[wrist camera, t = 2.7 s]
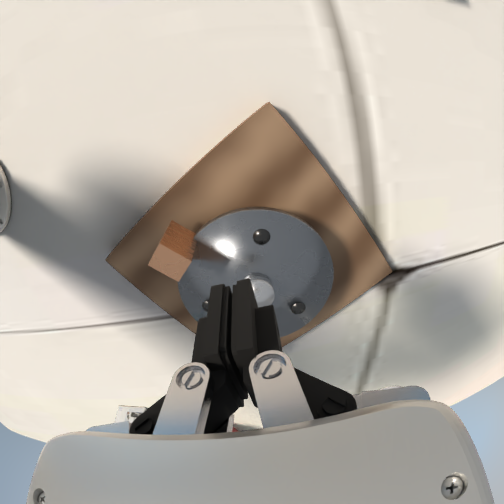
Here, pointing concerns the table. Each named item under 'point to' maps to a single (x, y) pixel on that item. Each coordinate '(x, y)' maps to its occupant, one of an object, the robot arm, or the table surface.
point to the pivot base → (255, 195)
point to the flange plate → (250, 262)
